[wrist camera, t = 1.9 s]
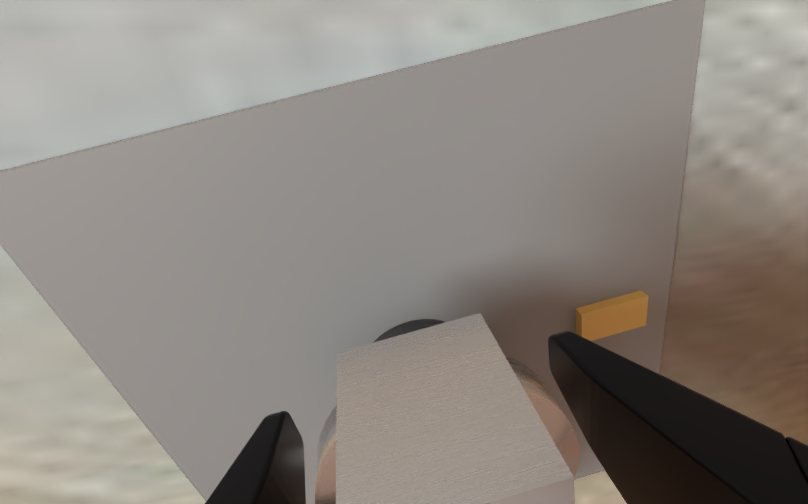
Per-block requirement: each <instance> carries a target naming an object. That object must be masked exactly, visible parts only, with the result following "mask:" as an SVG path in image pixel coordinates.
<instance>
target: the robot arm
mask: <svg viewBox="0 0 808 504" xmlns="http://www.w3.org/2000/svg"><path fill="white" fill-rule="evenodd" d="M548 350H549V366H550V370H551V373H552V375H553V377H554V379H555V381H556V383H557V385H558V387H559V389H560V391H561V393H562V395H563V397H564V399H565V400H566V402H567V404H568V406H569V408H570V410H571V412H572V414H573V416H574V418H575V420H576V422H577V423H578V425H579V427H580V429H581V431H582V433H583V435H584V437H585V439H586V440H587V442H588V444H589V446H590V448H591V449H592V451H593V452H594V454H595V456H596V457H597V459H598V460H599V462H600V463H601V465H602V466H603V468H604V469H605V471H606V472H607V474H608V475H609V477H610V479H611V480H612V482H613V483H614V485H615V486H616V488H617V489H618V491H619V492H620V494H621V495H622V497H623V498H624V500H625V501H626V503H627V504H808V446H807V445H805V444H803V443H801V442H799V441H797V440H795V439H793V438H791V437H786V438H785V437H784V435H783V434H782V433H780V432H778V431H776V430H774V429H772V428H770V427H768V426H766V425H763V424H761V423H759V422H757V421H755V420H753V419H751V418H749V417H747V416H745V415H743V414H741V413H739V412H737V411H735V410H732V409H730V408H728V407H726V406H724V405H722V404H720V403H718V402H716V401H714V400H712V399H710V398H708V397H706V396H703V395H701V394H699V393H697V392H695V391H693V390H691V389H689V388H687V387H685V386H683V385H681V384H679V383H677V382H675V381H672V380H670V379H668V378H666V377H664V376H662V375H660V374H658V373H656V372H654V371H652V370H650V369H648V368H646V367H643V366H641V365H639V364H637V363H635V362H633V361H631V360H629V359H627V358H625V357H623V356H621V355H619V354H617V353H614V352H612V351H610V350H608V349H606V348H604V347H602V346H600V345H598V344H596V343H594V342H592V341H590V340H588V339H586V338H583V337H581V336H579V335H577V334H575V333H573V332H571V331H564V332H560V333H556V334H553V335H551V336H549V338H548ZM205 504H306V493H305V463H304V444H303V440H302V437H301V434H300V433H299V431H298V429H297V427H296V425H295V423H294V421H293V419H292V417H291V415H290V414H289V413H288V412H287V411H281V412H277V413H274V414H270V415H267V416H266V417H265V418H264V419H263V420H262V422H261V423H260V424H259V426H258V427H257V429H256V430H255V432H254V433H253V435H252V436H251V438H250V439H249V440H248V442H247V443H246V445H245V446H244V448H243V449H242V451H241V452H240V453H239V455H238V456H237V458H236V459H235V461H234V462H233V464H232V465H231V466H230V468H229V469H228V471H227V472H226V474H225V475H224V477H223V478H222V479H221V481H220V482H219V484H218V485H217V487H216V488H215V490H214V491H213V492H212V494H211V495H210V497H209V498H208V500H207V501H206V503H205Z"/></svg>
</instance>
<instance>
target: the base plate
mask: <svg viewBox="0 0 808 504" xmlns="http://www.w3.org/2000/svg"><path fill="white" fill-rule="evenodd" d="M704 6H705V0H672V1H668V2H664V3H660V4H656V5H652V6H649V7H645V8H641V9H637V10H633V11H629V12H625V13H621V14H617V15H613V16H609V17H605V18H601V19H597V20H593V21H589V22H585V23H582V24H578V25H574V26H570V27H566V28H562V29H558V30H554V31H550V32H546V33H542V34H538V35H534V36H530V37H526V38H522V39H518V40H514V41H511V42H507V43H503V44H499V45H495V46H491V47H487V48H483V49H479V50H475V51H471V52H467V53H463V54H459V55H455V56H451V57H447V58H444V59H440V60H436V61H432V62H428V63H424V64H420V65H416V66H412V67H408V68H404V69H400V70H396V71H392V72H388V73H384V74H380V75H376V76H373V77H369V78H365V79H361V80H357V81H353V82H349V83H345V84H341V85H337V86H333V87H329V88H325V89H321V90H317V91H313V92H309V93H306V94H302V95H298V96H294V97H290V98H286V99H282V100H278V101H274V102H270V103H266V104H262V105H258V106H254V107H250V108H246V109H242V110H239V111H235V112H231V113H227V114H223V115H219V116H215V117H211V118H207V119H203V120H199V121H195V122H191V123H187V124H183V125H179V126H175V127H171V128H168V129H164V130H160V131H156V132H152V133H148V134H144V135H140V136H136V137H132V138H128V139H124V140H120V141H116V142H112V143H108V144H104V145H101V146H97V147H93V148H89V149H85V150H81V151H77V152H73V153H69V154H65V155H61V156H57V157H53V158H49V159H45V160H41V161H37V162H33V163H30V164H26V165H22V166H18V167H14V168H10V169H6V170H2V171H0V245H1V246H2V247H3V249H4V250H5V251H6V252H7V254H8V255H9V256H10V257H11V259H12V260H13V261H14V262H15V264H16V265H17V266H18V267H19V269H20V270H21V271H22V272H23V274H24V275H25V276H26V277H27V279H28V280H29V281H30V282H31V284H32V285H33V286H34V287H35V289H36V290H37V291H38V292H39V294H40V295H41V296H42V297H43V299H44V300H45V301H46V302H47V304H48V305H49V306H50V307H51V309H52V310H53V311H54V312H55V313H56V315H57V316H58V317H59V318H60V320H61V321H62V322H63V323H64V325H65V326H66V327H67V328H68V330H69V331H70V332H71V333H72V335H73V336H74V337H75V338H76V340H77V341H78V342H79V343H80V345H81V346H82V347H83V348H84V350H85V351H86V352H87V353H88V355H89V356H90V357H91V358H92V360H93V361H94V362H95V363H96V365H97V366H98V367H99V368H100V370H101V371H102V372H103V373H104V375H105V376H106V377H107V378H108V380H109V381H110V382H111V383H112V385H113V386H114V387H115V388H116V390H117V391H118V392H119V393H120V395H121V396H122V397H123V398H124V400H125V401H126V402H127V403H128V405H129V406H130V407H131V408H132V410H133V411H134V412H135V413H136V415H137V416H138V417H139V418H140V420H141V421H142V422H143V423H144V425H145V426H146V427H147V428H148V430H149V431H150V432H151V433H152V435H153V436H154V437H155V438H156V439H157V441H158V442H159V443H160V444H161V446H162V447H163V448H164V449H165V451H166V452H167V453H168V454H169V456H170V457H171V458H172V459H173V461H174V462H175V463H176V464H177V466H178V467H179V468H180V469H181V471H182V472H183V473H184V474H185V476H186V477H187V478H188V479H189V481H190V482H191V483H192V484H193V486H194V487H195V488H196V489H197V491H198V492H199V493H200V494H201V496H202V497H203V498H204V499H205V501H207V500H208V498H209V497H210V495H211V494H212V492H213V491H214V490H215V488H216V487H217V485H218V484H219V482H220V481H221V479H222V478H223V477H224V475H225V474H226V472H227V471H228V469H229V468H230V466H231V465H232V464H233V462H234V461H235V459H236V458H237V456H238V455H239V453H240V452H241V451H242V449H243V448H244V446H245V445H246V443H247V442H248V440H249V439H250V438H251V436H252V435H253V433H254V432H255V430H256V429H257V427H258V426H259V424H260V423H261V422H262V420H263V419H264V418H265V417H266V416H267V415H270V414H274V413H277V412H281V411H287V412H288V413H289V414H290V415H291V417H292V419H293V421H294V423H295V425H296V427H297V429H298V431H299V433H300V434H301V437H302V440H303V444H304V463H305V493H306V504H315V488H316V471H317V453H318V443H319V438H320V434H321V431H322V429H323V426H324V424H325V422H326V420H327V418H328V417H329V415H330V413H331V412H332V410H333V409H334V408H335V406H336V405H337V353H338V352H341V351H345V350H349V349H352V348H356V347H359V346H363V345H366V344H370V343H373V342H374V341H375V340H376V339H377V338H378V337H379V336H380V335H382V334H383V333H384V332H386V331H388V330H389V329H391V328H393V327H395V326H397V325H399V324H402V323H405V322H408V321H413V320H419V319H435V320H442V321H446V322H449V321H452V320H456V319H460V318H463V317H467V316H470V315H474V314H477V313H481V315H482V317H483V319H484V320H485V322H486V324H487V326H488V327H489V329H490V331H491V333H492V334H493V336H494V338H495V340H496V341H497V343H498V345H499V347H500V348H501V350H502V352H503V354H504V355H505V356H508V357H510V358H513V359H515V360H517V361H519V362H521V363H523V364H524V365H526V366H527V367H529V368H530V369H531V370H533V371H534V372H535V373H536V374H537V375H538V376H539V377H540V378H541V379H542V380H543V382H544V383H545V385H546V386H547V388H548V389H549V391H550V392H551V394H552V395H553V397H554V399H555V400H556V402H557V403H558V405H559V406H560V408H561V409H562V411H563V413H564V414H565V416H566V417H567V419H568V420H569V422H570V423H571V425H572V427H573V428H574V430H575V432H576V435H577V438H578V441H579V448H580V459H579V466H578V469H577V473H576V476H575V478H574V479H577V478H580V477H584V476H587V475H590V474H594V473H597V472H600V471H604V470H605V469H604V468H603V466H602V465H601V463H600V462H599V460H598V459H597V457H596V456H595V454H594V452H593V451H592V449H591V448H590V446H589V444H588V442H587V440H586V439H585V437H584V435H583V433H582V431H581V429H580V427H579V425H578V423H577V422H576V420H575V418H574V416H573V414H572V412H571V410H570V408H569V406H568V404H567V402H566V400H565V399H564V397H563V395H562V393H561V391H560V389H559V387H558V385H557V383H556V381H555V379H554V377H553V375H552V373H551V370H550V366H549V350H548V338H549V336H551V335H553V334H556V333H560V332H564V331H571V332H573V333H575V334H577V335H579V336H581V337H583V338H586V339H588V340H590V341H592V342H594V343H596V344H598V345H600V346H602V347H604V348H606V349H608V350H610V351H612V352H614V353H617V354H619V355H621V356H623V357H625V358H627V359H629V360H631V361H633V362H635V363H637V364H639V365H641V366H643V367H646V368H648V369H650V370H652V371H654V372H656V373H658V374H660V367H661V359H662V351H663V342H664V334H665V326H666V318H667V310H668V301H669V293H670V285H671V277H672V269H673V260H674V252H675V244H676V236H677V228H678V219H679V211H680V203H681V195H682V187H683V178H684V170H685V162H686V154H687V146H688V137H689V129H690V121H691V113H692V105H693V96H694V88H695V80H696V72H697V64H698V55H699V47H700V39H701V31H702V23H703V14H704Z"/></svg>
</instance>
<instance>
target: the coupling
mask: <svg viewBox="0 0 808 504" xmlns="http://www.w3.org/2000/svg"><path fill="white" fill-rule="evenodd" d="M579 459H580V448H579V441H578V438H577V435H576V432H575V430H574V428H573V427H572V425H571V423H570V422H569V420H568V419H567V417H566V416H565V414H564V413H563V411H562V409H561V408H560V406H559V405H558V403H557V402H556V400H555V399H554V397H553V395H552V394H551V392H550V391H549V389H548V388H547V386H546V385H545V383H544V382H543V380H542V379H541V378H540V377H539V376H538V375H537V374H536V373H535V372H534V371H533V370H531V369H530V368H529V367H527V366H526V365H524V364H523V363H521V362H519V361H517V360H515V359H513V358H510V357H508V356H505V355H504V354H503V352H502V350H501V348H500V347H499V345H498V343H497V341H496V340H495V338H494V336H493V334H492V333H491V331H490V329H489V327H488V326H487V324H486V322H485V320H484V319H483V317H482V315H481V313H477V314H474V315H470V316H467V317H463V318H460V319H456V320H452V321H449V322H445V323H442V324H438V325H434V326H431V327H427V328H424V329H420V330H417V331H413V332H409V333H406V334H402V335H399V336H395V337H391V338H388V339H384V340H381V341H377V342H374V343H370V344H366V345H363V346H359V347H356V348H352V349H349V350H345V351H341V352H338V353H337V405H336V406H335V408H334V409H333V410H332V412H331V413H330V415H329V417H328V418H327V420H326V422H325V424H324V426H323V429H322V431H321V434H320V438H319V443H318V453H317V471H316V488H315V504H575V498H574V478H575V476H576V473H577V469H578V466H579Z"/></svg>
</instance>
